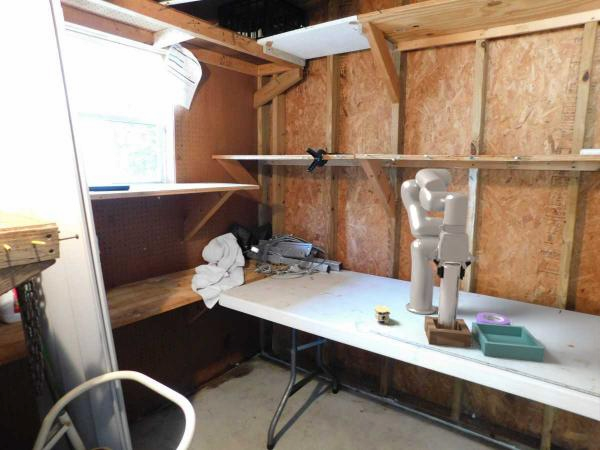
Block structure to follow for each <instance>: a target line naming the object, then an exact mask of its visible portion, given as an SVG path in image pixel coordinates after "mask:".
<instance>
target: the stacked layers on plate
mask: <svg viewBox="0 0 600 450" xmlns="http://www.w3.org/2000/svg"><path fill="white" fill-rule="evenodd" d="M373 315H374V317H375V320H376V321H377V322H384V324H389V322H390V319H391V317H390V315H391V309H390V308H389V307H387V306H385V305H375V306H374V314H373Z"/></svg>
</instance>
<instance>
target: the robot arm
mask: <svg viewBox="0 0 600 450" xmlns="http://www.w3.org/2000/svg"><path fill="white" fill-rule="evenodd" d="M451 184H452V174H451V173H450V171H449V170H448V169H446V168H423V169H420V170H418V171H417V172H416V175H415V179H407V180H405V181H404V182H402V184H401V185H400V186H401V187H400V197H401V200H402V203H403V205H404V207H405V210H406V212H407V215H408V216H407V217H408V222H409V223H408V224H409V227H410V228H409V229H410V232H411V235H412V236H413V237H414V238H415V239H414V240H413V241H412V242H411V244H410V256H411V276H410V294H409V295H410V296H409V302H407V303H406V304H405V309H406V310H407V311H409V312H411V313H414V314H419V315H431V314H434V313H436V309H437V308H436V307H435V306H434V305H433V299H434V285H435V284H434V283H435V269H434V268H433V266H432V264H430V262H433V263H434V264H435V265H436V266H437V269H436V275H437V276H438V277H439V279H441V278H442V270H443V268H442V265H444V262H455V263H459V264H460V266H461V274H460V281H461V280H464V278H465V276H466V269H467V268H468V267H469V266H470V265H472V263H474V262H475V261H476V257H475V256H474V255H473V254H472V253H471V252H470V240H469V238H470V237H469V234H468V233H467V221H468V208H469V197H468V195H466V194H464V193H463V194H462V193H461V192H458V191H447V190H448V189H449V187H450V186H451ZM428 212H430V213H444V214H443V217H431V216H429V214H428Z"/></svg>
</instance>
